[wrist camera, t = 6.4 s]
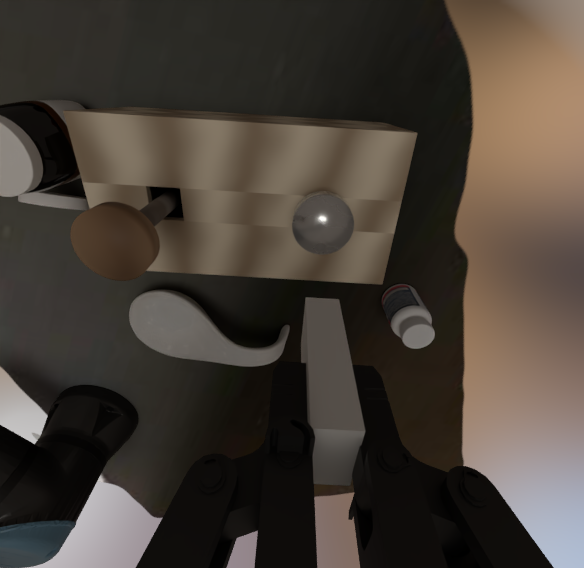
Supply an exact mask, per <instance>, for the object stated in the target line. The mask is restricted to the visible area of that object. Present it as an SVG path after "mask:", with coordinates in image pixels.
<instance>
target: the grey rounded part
mask: <svg viewBox="0 0 584 568" xmlns="http://www.w3.org/2000/svg"><path fill="white" fill-rule="evenodd" d="M292 230H293V234H294V237H295V239H296V241H297V243H298V244H299V245H300V246H301V247H302V248H303V249H305V250H306V251H308V252H311V253H314V254H319V255H324V254H330V253H333V252H336V251H338V250H339V249H341V248H342V247H343V246H345V245H346V244H347V242H348V241H349V240H350V238H351V236H352V233H353V230H354V218H353V215H352V212H351V210H350V208H349V206H348V204H347V202H346V201H345V200H344V199H343V198H342V197H341V196H339V195H338V194H336V193H333V192H330V191H317V192H313V193H311V194H309V195H307V196H305V197H304V198H303V199H302V200H301V201H300V202H299V203H298V204H297V206H296V208H295V210H294V214H293V221H292Z"/></svg>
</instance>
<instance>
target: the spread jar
mask: <svg viewBox="0 0 584 568" xmlns="http://www.w3.org/2000/svg"><path fill="white" fill-rule="evenodd" d="M82 109H85V108H84V107H83V106H82V105H81V104H79V103H77V102H74V101H70V100H35V101H23V102H16V103H10V104H4V105H0V196H4V197H13V196H18V201H20V202H24V203H29V204H35V205H42V206H49V207H57V208H65V209H75V210H89V209H90V208H89V205H88V201H87V198H85V197H79V196H73V195H67V194H60V193H53V192H46V191H45V190H49V189H52V188H55V187H58V186H61V185H63V184H66V183H69V182H71V181H74V180H77V179H80V178H81V175H80V172H79V168H78V164H77V161H76V157H75V153H74V150H73V146H72V142H71V139H70V135H69V131H68V128H67V124H66V120H65V117H64V113H63V111H64V110H82Z"/></svg>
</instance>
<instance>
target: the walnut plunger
mask: <svg viewBox="0 0 584 568" xmlns="http://www.w3.org/2000/svg"><path fill="white" fill-rule="evenodd" d="M180 203H182V201H181V192H180V188H170V189H169V190H167V191H166V192H165V193H163V194H162V195H160V196H159V197H158V198H156V199H155V200H153V201H152V202H151V203H149V204H148V205H146V206H145V207H143V208H142V209H141V210H137V209H136V208H134V207H132V206H130V205H127V204H124V203H120V202H104V203H101V204H98V205H96V206H94V207H93V208H91V209H89V210H87V211H85V212H83V213H82V214H80V215H79V216H78V217H77V218H76V219H75V221H74V222H73V224H72V227H71V242H72V245H73V248H74V250H75V252H76V254H77V255H78V257H79V258H80V260H81V261H82V262H83V263H84V264H85V265H86V266H87V267H88V268H90V269H91V270H92V271H94V272H95V273H97V274H99V275H101V276H103V277H105V278H108V279H112V280H118V281H126V280H132V279H135V278H137V277H139V276H141V275H142V274H143V273H144V272H145V271H146V270H147V269H148V268H149V267H150V265H151V264H152V263H153V262H154V261H155V260H156V258H157V256H158V254H159V249H160V241H159V236H158V233H157V231H156V229H155V226H156V225H157V224H158V223H159V222H160V221H161V220H162V219H164V218H165V217H166V216H167V215H168V214H169V213H170V212H171V211H173V210H174V209H175V208H176V207H177V206H178V205H179V204H180Z"/></svg>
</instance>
